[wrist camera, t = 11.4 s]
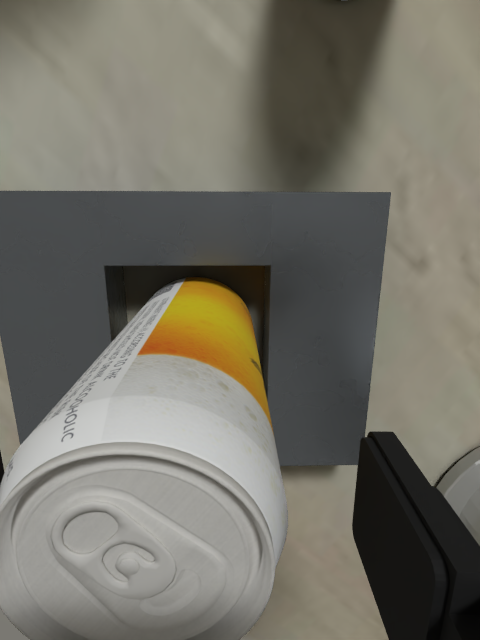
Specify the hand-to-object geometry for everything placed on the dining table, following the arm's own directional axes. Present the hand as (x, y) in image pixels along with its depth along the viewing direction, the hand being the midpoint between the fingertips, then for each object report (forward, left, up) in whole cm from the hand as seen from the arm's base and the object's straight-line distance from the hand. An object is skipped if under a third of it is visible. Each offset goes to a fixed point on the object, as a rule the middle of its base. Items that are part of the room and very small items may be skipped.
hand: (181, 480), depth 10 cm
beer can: (+1, 0, -12) cm, 12 cm away
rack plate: (+1, 0, -12) cm, 12 cm away
